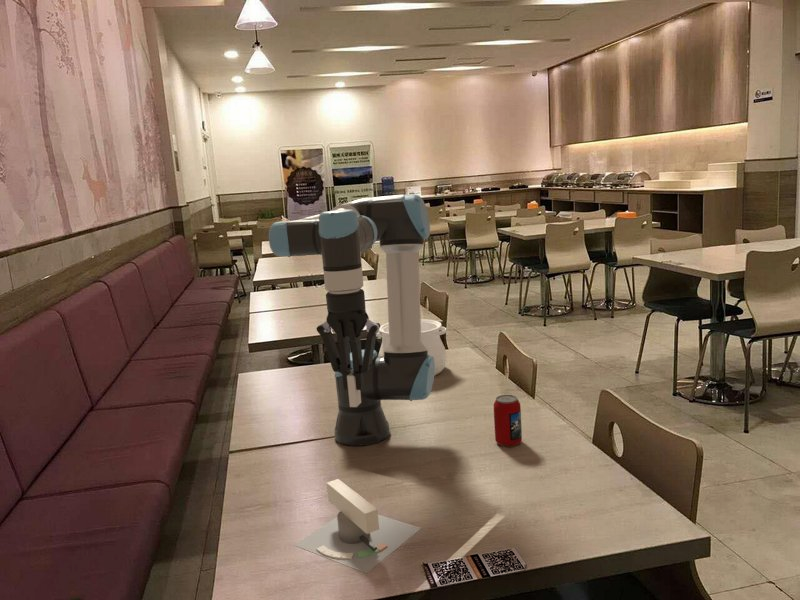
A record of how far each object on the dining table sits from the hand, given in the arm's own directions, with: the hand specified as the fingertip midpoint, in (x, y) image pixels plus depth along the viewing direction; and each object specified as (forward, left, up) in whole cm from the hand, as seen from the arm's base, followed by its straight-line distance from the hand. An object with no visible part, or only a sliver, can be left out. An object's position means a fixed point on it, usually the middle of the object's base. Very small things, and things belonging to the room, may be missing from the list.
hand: (355, 404), depth 132 cm
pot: (-50, +87, -25) cm, 104 cm away
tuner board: (+5, -9, -25) cm, 26 cm away
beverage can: (+9, +46, -25) cm, 53 cm away
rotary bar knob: (+4, -9, -23) cm, 25 cm away
